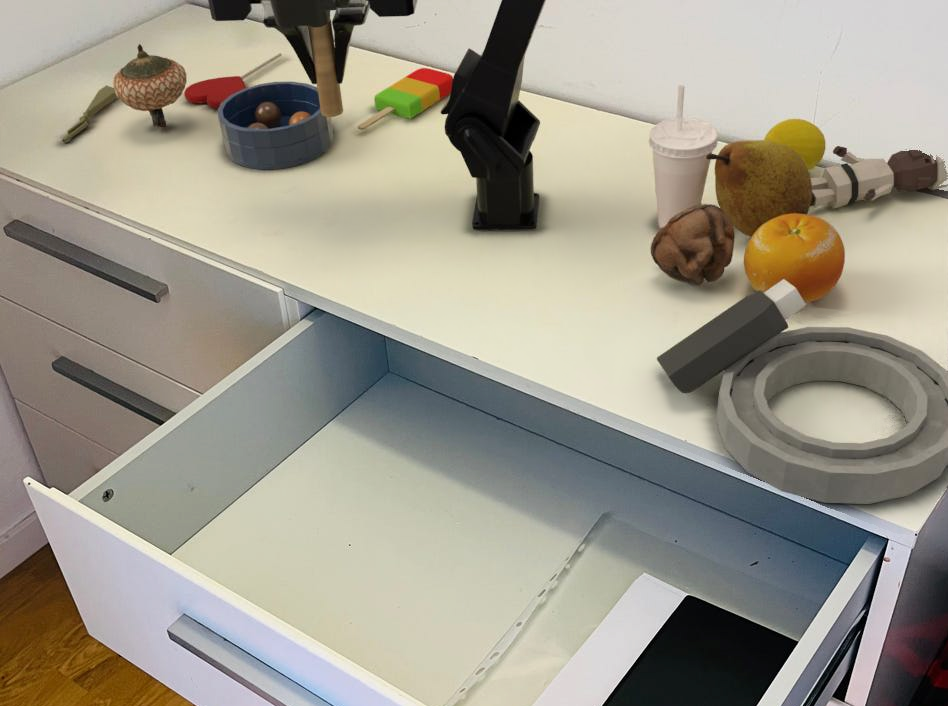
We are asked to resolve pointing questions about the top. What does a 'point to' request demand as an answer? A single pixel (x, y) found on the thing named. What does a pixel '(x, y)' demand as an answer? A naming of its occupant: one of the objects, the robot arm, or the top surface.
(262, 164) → the bowl
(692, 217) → the brown walnut half
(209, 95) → the lollipop
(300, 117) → the bead
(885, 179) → the toy
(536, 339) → the top surface
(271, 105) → the bead
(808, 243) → the fruit
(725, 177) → the fruit
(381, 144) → the top surface
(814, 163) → the fruit
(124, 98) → the acorn
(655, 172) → the smoothie
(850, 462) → the mechanical component
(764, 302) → the usb drive
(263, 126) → the bead
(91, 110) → the olive green tapered piece
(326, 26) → the stick
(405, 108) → the popsicle
